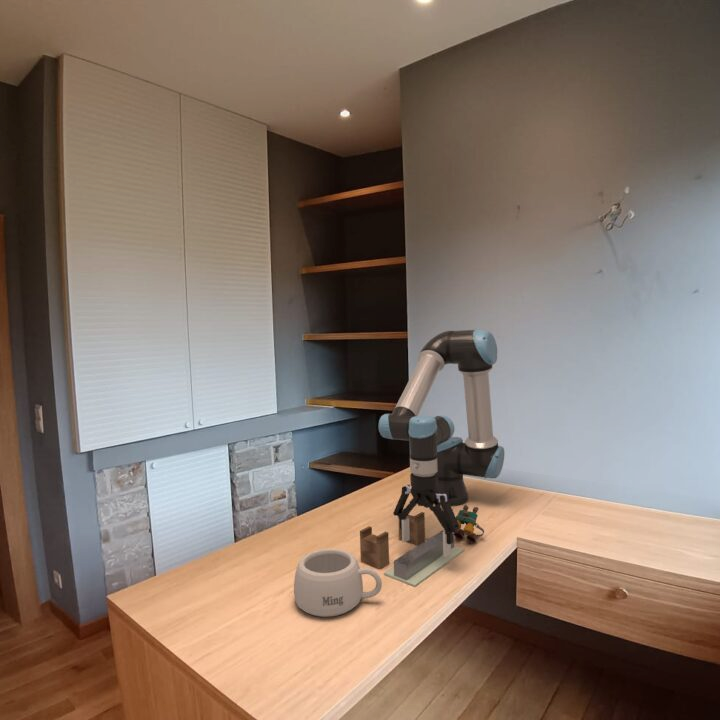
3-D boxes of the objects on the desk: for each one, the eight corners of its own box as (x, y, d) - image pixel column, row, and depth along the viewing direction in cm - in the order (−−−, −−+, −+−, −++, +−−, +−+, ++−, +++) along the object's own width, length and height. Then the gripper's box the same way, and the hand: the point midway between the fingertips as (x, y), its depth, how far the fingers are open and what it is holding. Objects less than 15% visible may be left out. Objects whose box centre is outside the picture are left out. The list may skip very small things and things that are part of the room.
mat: (384, 574, 128) (383, 572, 128) (434, 541, 147) (434, 540, 146) (415, 587, 121) (415, 585, 121) (464, 550, 140) (464, 549, 140)
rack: (360, 562, 135) (359, 530, 135) (406, 535, 152) (405, 507, 151) (380, 569, 131) (379, 537, 130) (425, 541, 147) (424, 512, 146)
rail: (394, 575, 126) (393, 560, 126) (442, 543, 144) (442, 530, 144) (406, 580, 124) (406, 565, 123) (454, 547, 142) (453, 533, 141)
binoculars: (453, 542, 150) (444, 522, 145) (463, 519, 156) (455, 498, 151) (481, 550, 145) (473, 529, 140) (491, 525, 150) (484, 504, 146)
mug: (284, 618, 110) (282, 576, 109) (305, 580, 126) (303, 543, 125) (377, 625, 106) (376, 581, 105) (386, 585, 122) (385, 547, 122)
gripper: (380, 468, 138) (382, 540, 139) (457, 485, 121) (458, 566, 123) (395, 462, 143) (397, 531, 145) (471, 477, 127) (473, 555, 128)
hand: (425, 547), depth 134 cm, fingers open, 13 cm apart
